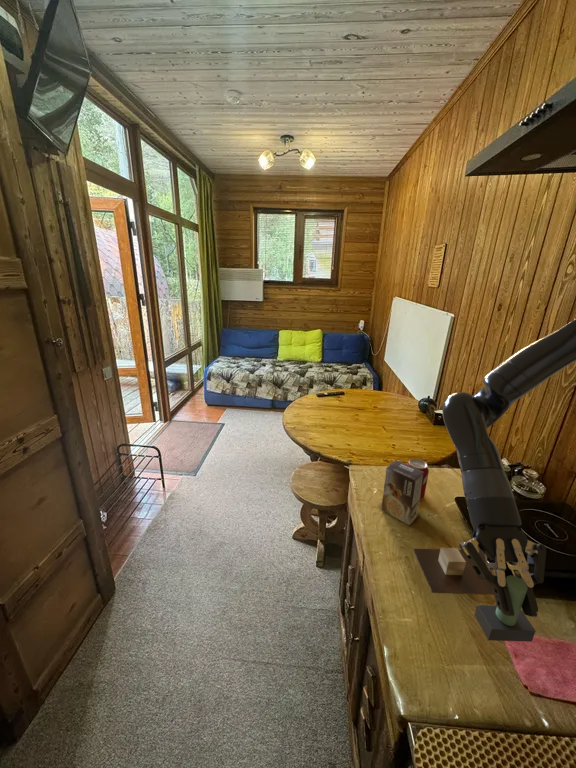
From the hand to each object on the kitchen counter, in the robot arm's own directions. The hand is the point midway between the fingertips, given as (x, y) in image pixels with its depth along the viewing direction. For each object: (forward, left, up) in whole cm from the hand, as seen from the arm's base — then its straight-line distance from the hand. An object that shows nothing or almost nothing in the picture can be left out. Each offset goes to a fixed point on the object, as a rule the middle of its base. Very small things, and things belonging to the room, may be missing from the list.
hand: (519, 614), depth 48 cm
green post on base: (0, -2, -6) cm, 6 cm away
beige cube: (-3, -23, -16) cm, 28 cm away
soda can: (-5, -51, -18) cm, 55 cm away
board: (-5, -22, -17) cm, 28 cm away
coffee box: (+3, -42, -18) cm, 45 cm away
